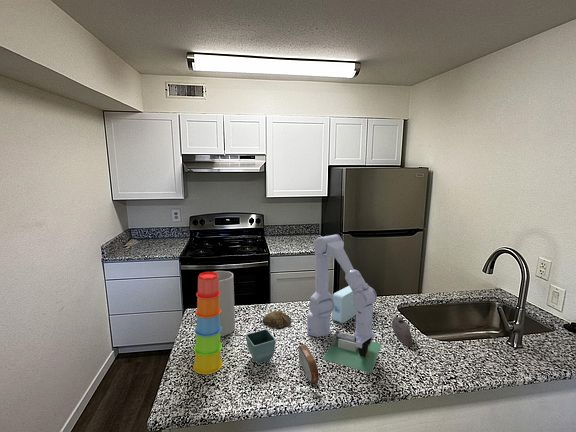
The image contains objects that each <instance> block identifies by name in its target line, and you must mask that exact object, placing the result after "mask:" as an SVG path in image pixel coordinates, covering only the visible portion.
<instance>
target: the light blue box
mask: <svg viewBox="0 0 576 432" xmlns="http://www.w3.org/2000/svg"><path fill="white" fill-rule="evenodd" d="M366 284H367V285H369V284H368V283H366ZM332 295H333V301H334V305H335V306H334V310H333V311H332V313H331V315H332V318H331V319H332V320H333V321H335V322H338V323H340V324H344V323H346V322H347V321H349V320H350V319H352V318H353V317H356V308H355V303H354V300H353V296H354V293H353V292H352V290H351V288H350V286H349V285H348V286H345V287H343V288H342V289H340V290H338V291H336V292H334V293H333V294H332Z"/></svg>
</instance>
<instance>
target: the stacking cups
mask: <svg viewBox="0 0 576 432" xmlns="http://www.w3.org/2000/svg"><path fill="white" fill-rule="evenodd" d="M195 295H196V297H197V299H196V300H197V301H196V306H197V307H196V311H195V315H196V327H195V329H194V333H195V345H194V347H193V351H194V353H195V354H194V355H195V356H194V357H195V358H194V361H195V362H194V363H193V366H192V368H193V370H194V372H195V373H197V374H200V375H211V374H214V373H216V372H218V371H219V370H220V369H222V367H223V363H224V361H223V359H222V357H221V350H222V349H223V344H222V342H221V336H220V331H221V326H220V313H221V309H220V308H219V295H220V291H219V276H218V274H217V273H215V271H204V272H201V273H199V275H198V276H197V292H196V294H195Z"/></svg>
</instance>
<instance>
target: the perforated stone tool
mask: <svg viewBox="0 0 576 432" xmlns="http://www.w3.org/2000/svg"><path fill="white" fill-rule="evenodd" d="M391 327H392V330H393V332H394V334H395V337H397V338H398V339H399V341H400V342H401V343H402V344H403V345H404V346H406V347H408V348H410V347H411V346H412V344H413V336H412V332H411V330H410V328H409V326H408V324H407V322H406V321H405V320H404V319H403V318H402V317H400V316H399V317H398V316H395V317H393V318H392V321H391Z"/></svg>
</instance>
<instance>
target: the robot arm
mask: <svg viewBox="0 0 576 432" xmlns="http://www.w3.org/2000/svg"><path fill="white" fill-rule="evenodd" d="M313 242H314V269H315V270H314V271H315V273H314V275H315V292H314V293H313V294H312V295H311V296H310V302H309V304H308V308H309V312H308V315H307V321H306V322H307V323H306V335H308V336H312V337H314V338H315V337H316V338H319V337H325V336H326V337H327V336H329V335H330V333H331V315H332V311H333V310H334V306H335V305H334V301H333V294H331V293H330V292H329V260H328V259H329V256H330V257H333V258H335V260H336V262H337V263H338V264H339V265H340V267H341V269H342V270H343V272H344V273H345V276H344V279H345V281H346V283H347V284H348V286H350V288H351V290H352V292H353V293H354V296H353V300H354V303H355V308H356V315H355V330H354V334H355V336H356V337H355V342H356V347H358V350H359V355H360V356H363V357H365V356H366V354H367V350H368V346H369V344H370V342H371V340H372V341H373V339H374V338H376V334H375V333H374V332H373V315H374V313H373V312H374V311H373V310H374V309H373V308H374V303H376V301H377V300H378V296H377V292H376V290H375V289H374V288H373V287H371V286H370V285H369V284H368V283H366V281H365V279H364V277H363V276H362V273H361V272H360V271H359V270H357V269H354V267H353V265H352V263H351V261H350V258H349V256H348V254H347V253H346V250H345V249H344V246H345V243H344V241H343V239H342V237H341V235H339V234H337V233H336V234H332V235H325V236H319V237H317V238H316V239H315V240H314V241H313ZM367 284H368V285H367Z"/></svg>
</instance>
